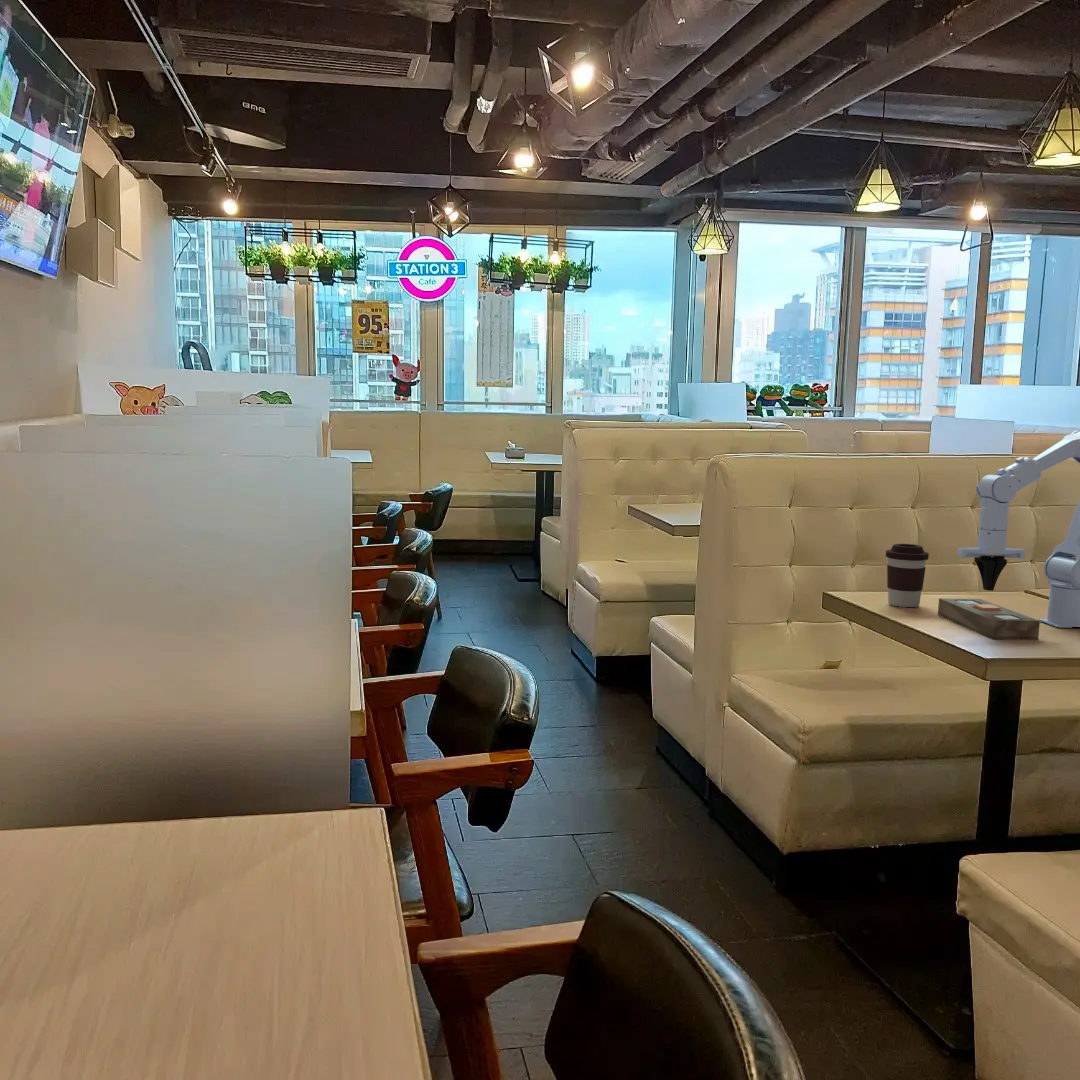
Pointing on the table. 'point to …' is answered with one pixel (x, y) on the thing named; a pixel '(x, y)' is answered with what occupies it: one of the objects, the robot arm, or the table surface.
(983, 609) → the orange square block
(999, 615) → the pale grey square block
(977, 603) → the steel plunger
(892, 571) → the coffee cup
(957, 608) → the block
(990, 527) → the robot arm
